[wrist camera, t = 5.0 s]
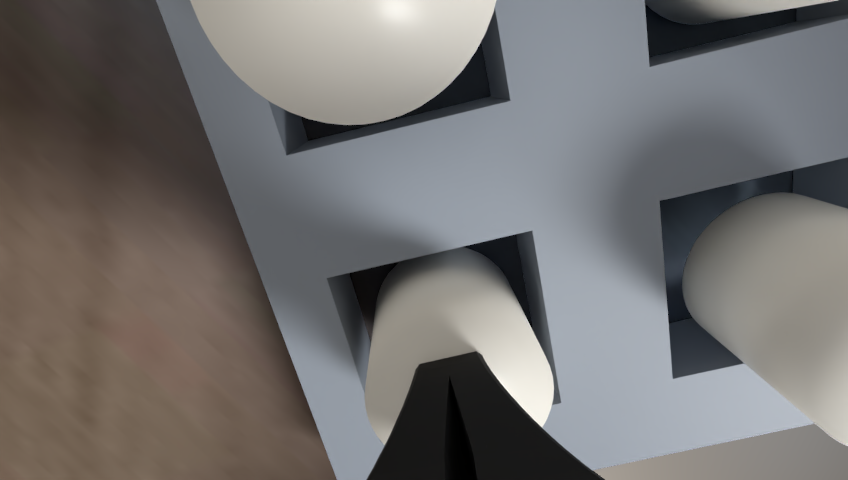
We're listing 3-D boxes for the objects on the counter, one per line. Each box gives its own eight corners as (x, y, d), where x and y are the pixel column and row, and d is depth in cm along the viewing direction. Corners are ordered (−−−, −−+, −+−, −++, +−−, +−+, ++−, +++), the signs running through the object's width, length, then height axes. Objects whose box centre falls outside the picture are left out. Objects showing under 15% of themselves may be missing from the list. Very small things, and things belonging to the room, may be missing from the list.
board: (877, -387, 10) (1027, -533, 7) (835, 353, 16) (911, 403, 13) (137, -182, 10) (59, -256, 8) (360, 456, 16) (352, 520, 14)
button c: (500, 230, 13) (538, 293, 9) (523, 353, 14) (565, 451, 11) (359, 263, 13) (341, 337, 10) (395, 382, 15) (391, 488, 11)
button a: (846, 174, 11) (1068, 224, 8) (838, 322, 13) (1023, 427, 9) (677, 214, 11) (811, 281, 8) (686, 355, 13) (804, 473, 9)
